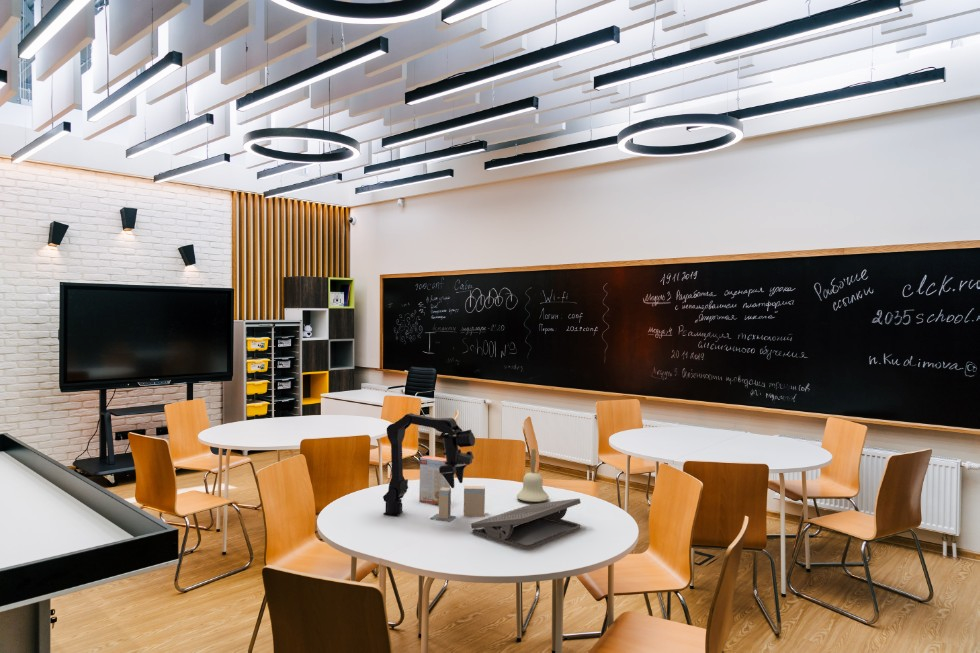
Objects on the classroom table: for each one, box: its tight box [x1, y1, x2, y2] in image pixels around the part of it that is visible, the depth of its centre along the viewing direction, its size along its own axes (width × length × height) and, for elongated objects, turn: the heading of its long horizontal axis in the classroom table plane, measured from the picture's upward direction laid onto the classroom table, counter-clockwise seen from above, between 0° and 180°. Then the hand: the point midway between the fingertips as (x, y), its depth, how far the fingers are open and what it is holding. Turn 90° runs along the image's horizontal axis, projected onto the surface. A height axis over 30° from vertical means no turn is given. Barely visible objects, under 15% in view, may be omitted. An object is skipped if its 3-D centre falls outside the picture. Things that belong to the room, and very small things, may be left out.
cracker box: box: [418, 455, 451, 506], centre depth 295 cm, size 14×6×21 cm, turn 58°
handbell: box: [516, 447, 549, 503], centre depth 301 cm, size 15×15×25 cm
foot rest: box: [470, 498, 582, 551], centre depth 258 cm, size 39×30×13 cm
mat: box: [429, 513, 457, 523], centre depth 272 cm, size 9×7×1 cm
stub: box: [438, 487, 452, 519], centre depth 272 cm, size 4×5×12 cm
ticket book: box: [463, 485, 486, 517], centre depth 277 cm, size 9×5×12 cm, turn 91°
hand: (457, 485), depth 266 cm, fingers open, 9 cm apart
